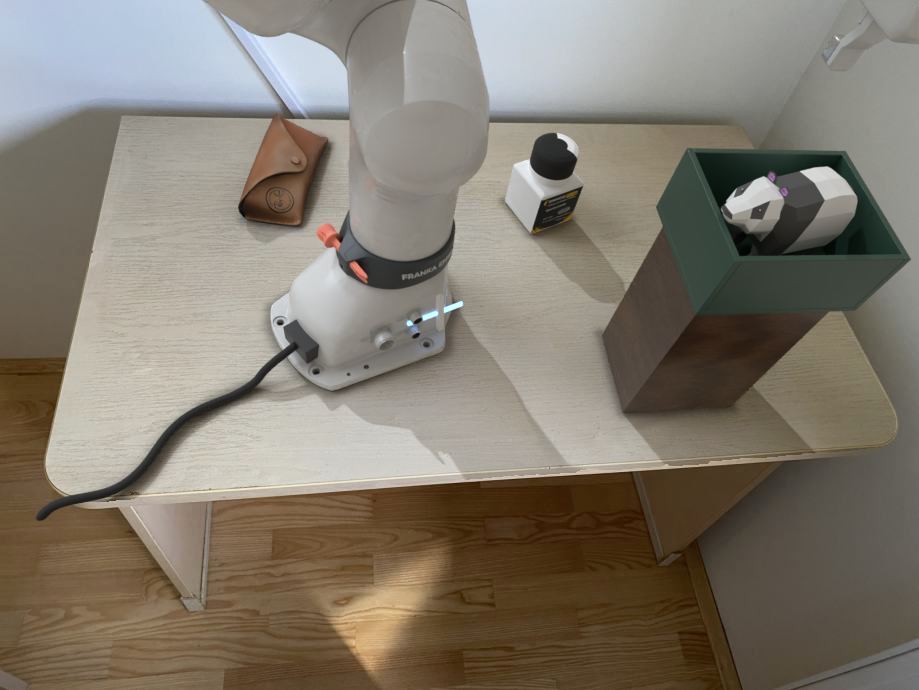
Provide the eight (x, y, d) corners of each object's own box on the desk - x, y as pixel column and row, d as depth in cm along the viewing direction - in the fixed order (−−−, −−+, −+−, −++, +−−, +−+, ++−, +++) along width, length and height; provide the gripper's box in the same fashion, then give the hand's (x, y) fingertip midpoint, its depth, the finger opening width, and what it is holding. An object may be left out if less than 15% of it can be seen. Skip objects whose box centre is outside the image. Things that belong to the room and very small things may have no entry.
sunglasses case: (304, 226, 87) (273, 190, 82) (261, 237, 90) (228, 203, 85) (330, 135, 97) (304, 98, 92) (291, 148, 99) (264, 113, 94)
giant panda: (784, 221, 67) (849, 145, 59) (818, 262, 64) (891, 189, 56) (670, 241, 61) (726, 160, 53) (702, 287, 59) (766, 209, 51)
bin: (695, 315, 59) (735, 261, 53) (655, 207, 66) (686, 147, 60) (855, 311, 62) (911, 259, 56) (800, 207, 69) (845, 150, 62)
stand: (622, 413, 78) (702, 305, 60) (601, 335, 84) (668, 215, 66) (730, 407, 81) (839, 301, 62) (702, 332, 87) (795, 215, 68)
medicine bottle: (530, 235, 92) (551, 170, 82) (503, 201, 95) (520, 134, 85) (571, 220, 94) (596, 155, 84) (543, 187, 97) (564, 120, 87)
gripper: (824, -283, 42) (721, -55, 53) (1001, -129, 31) (824, 114, 42) (911, -270, 43) (792, -49, 54) (1110, -116, 32) (909, 117, 44)
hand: (807, 24), depth 48 cm, fingers open, 8 cm apart
